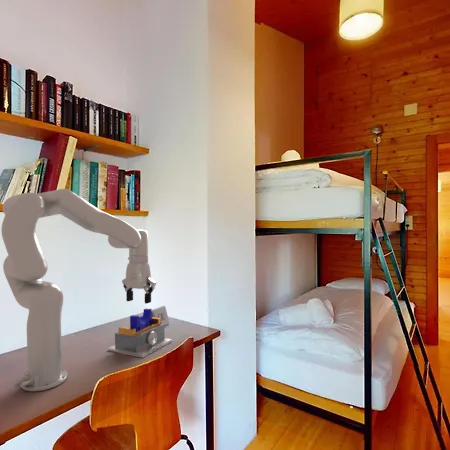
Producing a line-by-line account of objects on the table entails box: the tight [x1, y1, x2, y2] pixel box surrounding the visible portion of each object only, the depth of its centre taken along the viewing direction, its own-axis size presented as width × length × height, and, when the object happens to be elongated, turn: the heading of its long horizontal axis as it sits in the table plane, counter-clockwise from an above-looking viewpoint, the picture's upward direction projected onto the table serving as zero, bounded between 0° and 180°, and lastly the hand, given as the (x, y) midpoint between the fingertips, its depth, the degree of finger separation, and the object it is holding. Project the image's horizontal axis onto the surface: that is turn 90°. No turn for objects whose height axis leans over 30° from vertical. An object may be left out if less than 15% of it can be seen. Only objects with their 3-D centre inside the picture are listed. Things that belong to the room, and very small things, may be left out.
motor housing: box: [107, 317, 173, 359], centre depth 128 cm, size 18×18×10 cm
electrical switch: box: [152, 305, 170, 327], centre depth 155 cm, size 9×5×9 cm, turn 152°
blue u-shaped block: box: [129, 307, 153, 332], centre depth 128 cm, size 12×4×6 cm, turn 165°
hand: (138, 301), depth 128 cm, fingers open, 9 cm apart
